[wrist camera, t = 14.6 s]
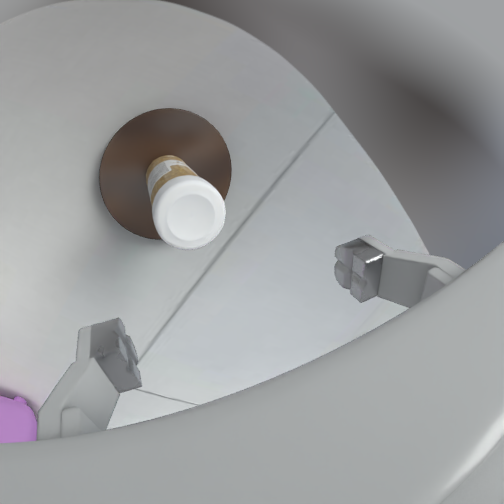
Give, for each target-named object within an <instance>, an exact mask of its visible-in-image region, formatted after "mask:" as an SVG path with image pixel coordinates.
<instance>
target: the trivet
mask: <svg viewBox="0 0 504 504" xmlns="http://www.w3.org/2000/svg"><path fill="white" fill-rule="evenodd" d="M165 155H172V156H176V157H178V158H180V159H181V160H183V161H184V162H185V164H186V165H187V166H188V167H190V168H191V169H192V170H193V171H194V172H195V173H196V174H197V175H198V176H199V177H200V178H203V179H204V180H206V181H207V182H209V183H210V184H211V185H212V186H213V187H214V188H215V189H216V190H217V191H218V192H219V193H220V195H221V196H222V198H223V201H224V200H225V197H226V195H227V193H228V189H229V186H230V181H231V159H230V155H229V151H228V148H227V146H226V143H225V141H224V140H223V138H222V136H221V135H220V133H219V132H218V131H217V130H216V129H215V127H214V126H213V125H212V124H210V123H209V122H208V121H207V120H205V119H204V118H202V117H200V116H199V115H197V114H194V113H192V112H189V111H185V110H181V109H173V108H166V109H157V110H152V111H149V112H146V113H143V114H141V115H139V116H137V117H135V118H133V119H132V120H130V121H129V122H127V123H126V124H125V125H124V126H123V127H121V128H120V129H119V131H118V132H117V133H116V134H115V135H114V136H113V138H112V139H111V141H110V142H109V144H108V146H107V148H106V150H105V152H104V155H103V158H102V161H101V166H100V175H99V181H100V189H101V194H102V197H103V200H104V203H105V205H106V207H107V209H108V211H109V212H110V213H111V215H112V216H113V218H114V219H115V220H116V221H117V222H118V223H119V224H120V225H122V226H123V227H124V228H125V229H127V230H129V231H130V232H132V233H134V234H137V235H139V236H142V237H145V238H150V239H162V238H161V237H160V236H159V234H158V232H157V230H156V228H155V225H154V221H153V215H152V205H151V201H150V196H149V191H148V186H147V183H146V173H147V169H148V167H149V166H150V164H151V163H152V162H153V161H154V160H156V159H157V158H159V157H161V156H165ZM162 240H163V239H162Z"/></svg>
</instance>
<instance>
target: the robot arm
mask: <svg viewBox="0 0 504 504" xmlns="http://www.w3.org/2000/svg"><path fill="white" fill-rule="evenodd" d="M335 257H336V258H337V260H338V261H337V263H336V264H335V266H334V268H335V277H336V280H337V281H338V283H339V284H340V285H341V286H342V287H343V288H346V289H350V294H351V295H352V296H353V297H354V298H356V299H357V300H358V301H359V302H360V303H362V302H364V301H367V300H369V299H371V298H373V297H375V296H377V295H378V297H380V298H383V299H386V300H389V301H392V302H394V303H397V304H400V305H403V306H406V307H408V308H409V309H407V310H406V311H404V312H403V313H401V314H399V315H398V316H396V317H394V318H392V319H391V320H389V321H387V322H386V323H384V324H382V325H380V326H379V327H377V328H375V329H373V330H371V331H369V332H368V333H366V334H364V335H362V336H360V337H358V338H357V339H355V340H353V341H351V342H349V343H347V344H345V345H343V346H341V347H339V348H337V349H335V350H333V351H331V352H329V353H327V354H325V355H323V356H321V357H319V358H317V359H315V360H312V361H310V362H308V363H306V364H304V365H302V366H299V367H297V368H295V369H293V370H290V371H288V372H286V373H283V374H281V375H279V376H276V377H274V378H272V379H269V380H267V381H264V382H262V383H259V384H257V385H254V386H252V387H249V388H247V389H244V390H241V391H239V392H236V393H233V394H231V395H228V396H225V397H222V398H219V399H216V400H214V401H211V402H208V403H205V404H202V405H199V406H195V407H192V408H189V409H186V410H183V411H179V412H176V413H173V414H169V415H166V416H162V417H158V418H155V419H151V420H147V421H143V422H139V423H135V424H131V425H127V426H122V427H118V428H113V429H108V430H106V428H107V426H108V423H109V421H110V418H111V416H112V413H113V411H114V408H115V406H116V403H117V401H118V398H119V396H120V394H119V393H122V392H125V391H129V390H132V389H136V388H139V387H142V382H141V376H140V371H139V369H138V368H137V366H136V365H137V363H138V357H137V353H136V349H135V347H134V344H133V342H132V340H131V338H130V336H128V335H126V334H125V326H124V324H123V322H122V321H121V319H120V318H116V319H112V320H109V321H105V322H102V323H98V324H94V325H91V326H87V327H84V328H81V329H80V330H79V332H78V341H77V352H76V362H74V363H72V364H71V365H70V367H69V368H68V369H67V371H66V372H65V374H64V375H63V376H62V378H61V379H60V381H59V382H58V384H57V385H56V386H55V388H54V389H53V391H52V392H51V394H50V395H49V397H48V398H47V400H46V401H45V403H44V404H43V406H42V407H41V409H40V410H39V412H38V421H37V439H36V441H28V442H15V443H0V504H504V241H503V242H502V243H501V244H500V245H498V246H497V247H496V248H495V249H494V250H492V251H491V252H490V253H488V254H487V255H486V256H484V257H483V258H482V259H481V260H479V261H478V262H477V263H475V264H474V265H473V266H471V267H470V268H469V269H467V270H465V269H464V268H462V267H460V266H459V265H457V264H456V263H454V262H452V261H451V260H449V259H447V258H442V257H437V256H432V255H426V254H421V253H415V252H409V251H404V250H398V249H397V250H393V249H392V248H390V247H389V246H387V245H385V244H384V243H382V242H380V241H379V240H377V239H375V238H374V237H372V236H370V235H365V236H362V237H360V238H357V239H356V240H353V241H350V242H347V243H345V244H342V245H339V246H337V247H336V249H335Z"/></svg>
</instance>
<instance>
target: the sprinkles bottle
mask: <svg viewBox="0 0 504 504" xmlns="http://www.w3.org/2000/svg"><path fill="white" fill-rule="evenodd" d="M146 183H147V186H148V191H149V196H150V201H151V205H152V215H153V221H154V225H155V228H156V230H157V232H158V234H159V236H160V237H161V238H162V239H163V240H164V241H165V242H166V243H167V244H169V245H170V246H172V247H174V248H177V249H181V250H193V249H198V248H201V247H203V246H205V245H207V244H209V243H210V242H211V241H213V240H214V239H215V238H216V236H217V235H218V234H219V233H220V231H221V229H222V227H223V225H224V222H225V215H226V209H225V204H224V201H223V198H222V196H221V195H220V193H219V192H218V191H217V190H216V189H215V188H214V187H213V186H212V185H211V184H210V183H209V182H207V181H206V180H204V179H203V178H200V177H199V176H198V175H197V174H196V173H195V172H194V171H193V170H192V169H191V168H190V167H188V166H187V165H186V164H185V162H184V161H183V160H181V159H180V158H178V157H176V156H172V155H165V156H161V157H159V158H157V159H156V160H154V161H153V162H152V163H151V164H150V166H149V167H148V169H147V173H146Z"/></svg>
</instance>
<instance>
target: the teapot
mask: <svg viewBox="0 0 504 504" xmlns="http://www.w3.org/2000/svg"><path fill="white" fill-rule="evenodd" d="M26 404H27V402H26V400H25V399H23V398H22V397H18V396H16V397H14V400H12V399H9V398H6V397H3V396H0V443H15V442H28V441H36V439H37V421H36V418H35V415H34V413H33V411H32V409H31V408H30V407H29V406H27V405H26Z"/></svg>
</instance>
